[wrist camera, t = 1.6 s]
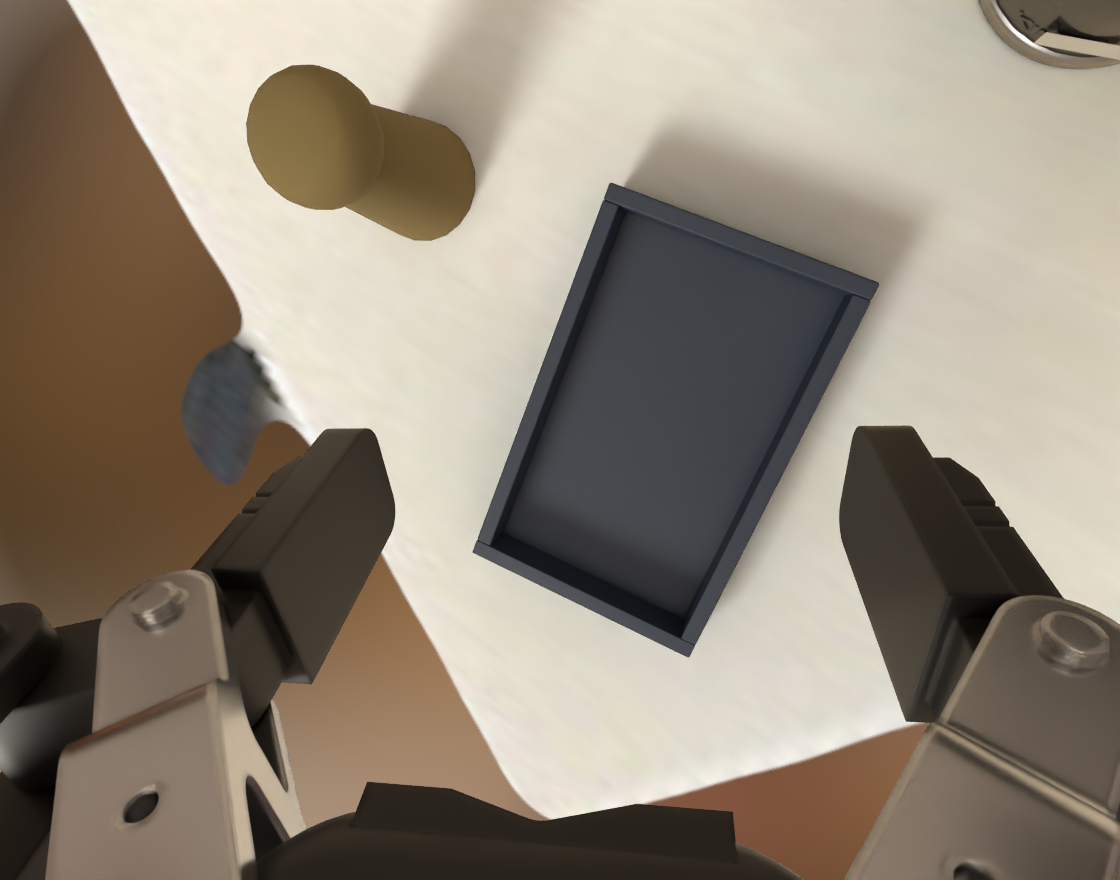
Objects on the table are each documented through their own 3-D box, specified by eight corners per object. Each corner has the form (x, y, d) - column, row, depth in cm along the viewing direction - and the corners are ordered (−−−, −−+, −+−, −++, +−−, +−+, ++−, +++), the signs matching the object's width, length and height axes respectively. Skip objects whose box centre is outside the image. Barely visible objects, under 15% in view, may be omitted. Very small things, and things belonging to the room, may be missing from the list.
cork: (483, 129, 33) (370, 49, 22) (465, 250, 34) (351, 228, 24) (378, 112, 34) (223, 28, 24) (364, 230, 36) (214, 200, 25)
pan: (619, 191, 32) (609, 181, 29) (867, 284, 30) (880, 282, 27) (489, 535, 38) (472, 552, 35) (691, 632, 36) (688, 658, 33)
